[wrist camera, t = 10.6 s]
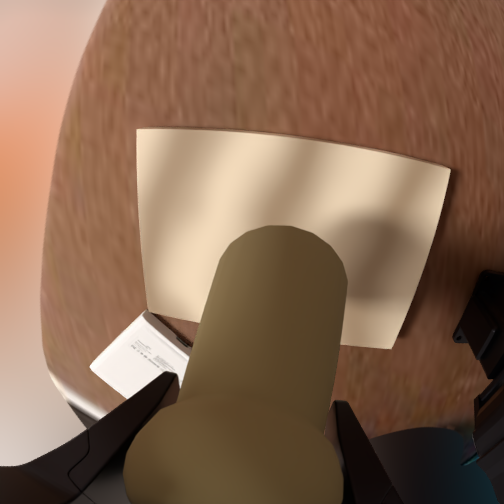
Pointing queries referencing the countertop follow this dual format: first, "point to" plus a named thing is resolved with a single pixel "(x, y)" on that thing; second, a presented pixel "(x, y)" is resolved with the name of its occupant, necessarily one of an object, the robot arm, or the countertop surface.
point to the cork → (253, 384)
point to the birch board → (285, 216)
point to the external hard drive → (141, 356)
